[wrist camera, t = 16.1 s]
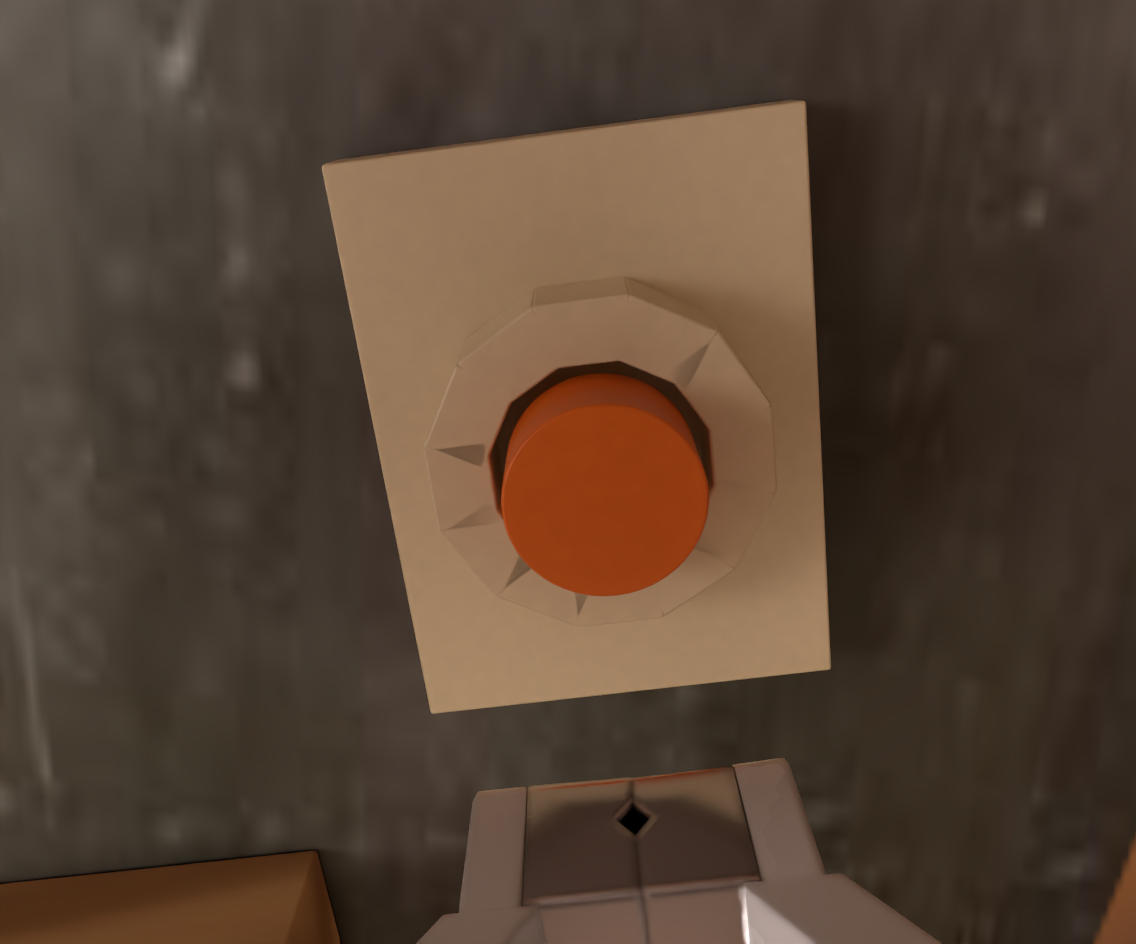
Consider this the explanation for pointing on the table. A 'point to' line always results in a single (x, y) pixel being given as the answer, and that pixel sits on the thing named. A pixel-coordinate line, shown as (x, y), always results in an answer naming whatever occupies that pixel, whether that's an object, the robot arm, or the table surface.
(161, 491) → the table surface
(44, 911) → the dock
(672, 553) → the button
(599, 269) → the block
